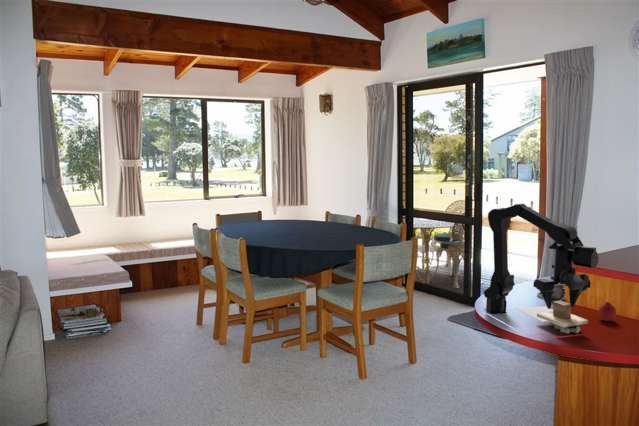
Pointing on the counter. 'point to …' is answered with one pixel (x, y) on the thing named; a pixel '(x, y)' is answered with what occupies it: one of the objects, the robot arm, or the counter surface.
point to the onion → (607, 311)
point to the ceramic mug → (556, 293)
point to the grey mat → (535, 311)
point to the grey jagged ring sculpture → (566, 330)
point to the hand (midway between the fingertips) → (560, 307)
